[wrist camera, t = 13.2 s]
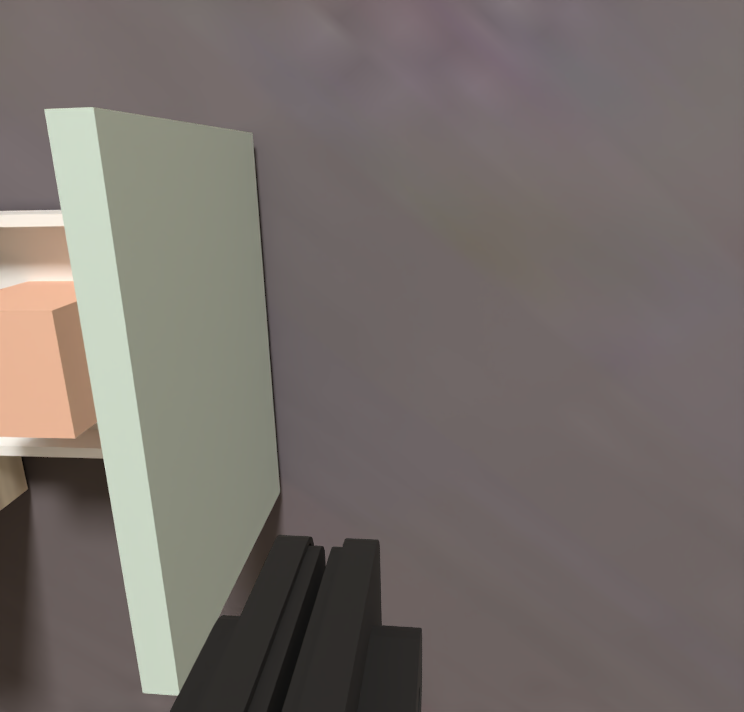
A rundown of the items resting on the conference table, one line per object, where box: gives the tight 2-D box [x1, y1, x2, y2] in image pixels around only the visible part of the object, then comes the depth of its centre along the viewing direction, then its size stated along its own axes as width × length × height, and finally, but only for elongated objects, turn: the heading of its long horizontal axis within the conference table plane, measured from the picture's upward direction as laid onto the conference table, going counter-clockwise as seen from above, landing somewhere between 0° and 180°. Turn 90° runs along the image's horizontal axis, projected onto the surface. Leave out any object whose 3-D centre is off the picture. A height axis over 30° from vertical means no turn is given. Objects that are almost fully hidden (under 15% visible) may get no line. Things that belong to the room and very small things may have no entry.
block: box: [0, 281, 97, 439], centre depth 26 cm, size 5×5×6 cm
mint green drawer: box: [0, 107, 280, 696], centre depth 24 cm, size 17×17×12 cm
